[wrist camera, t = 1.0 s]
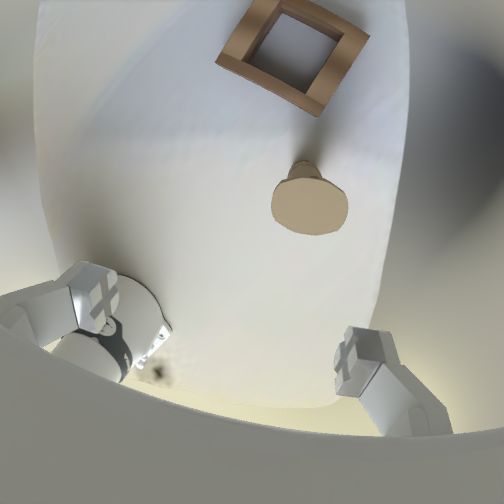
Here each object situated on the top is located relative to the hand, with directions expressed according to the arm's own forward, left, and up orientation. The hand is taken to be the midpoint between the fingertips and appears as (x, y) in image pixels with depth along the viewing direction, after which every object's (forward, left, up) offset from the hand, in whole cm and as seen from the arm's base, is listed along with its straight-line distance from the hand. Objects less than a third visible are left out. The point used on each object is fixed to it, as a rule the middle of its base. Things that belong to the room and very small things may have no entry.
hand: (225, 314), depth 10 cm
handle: (+1, -4, -31) cm, 32 cm away
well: (+14, +5, -31) cm, 34 cm away
